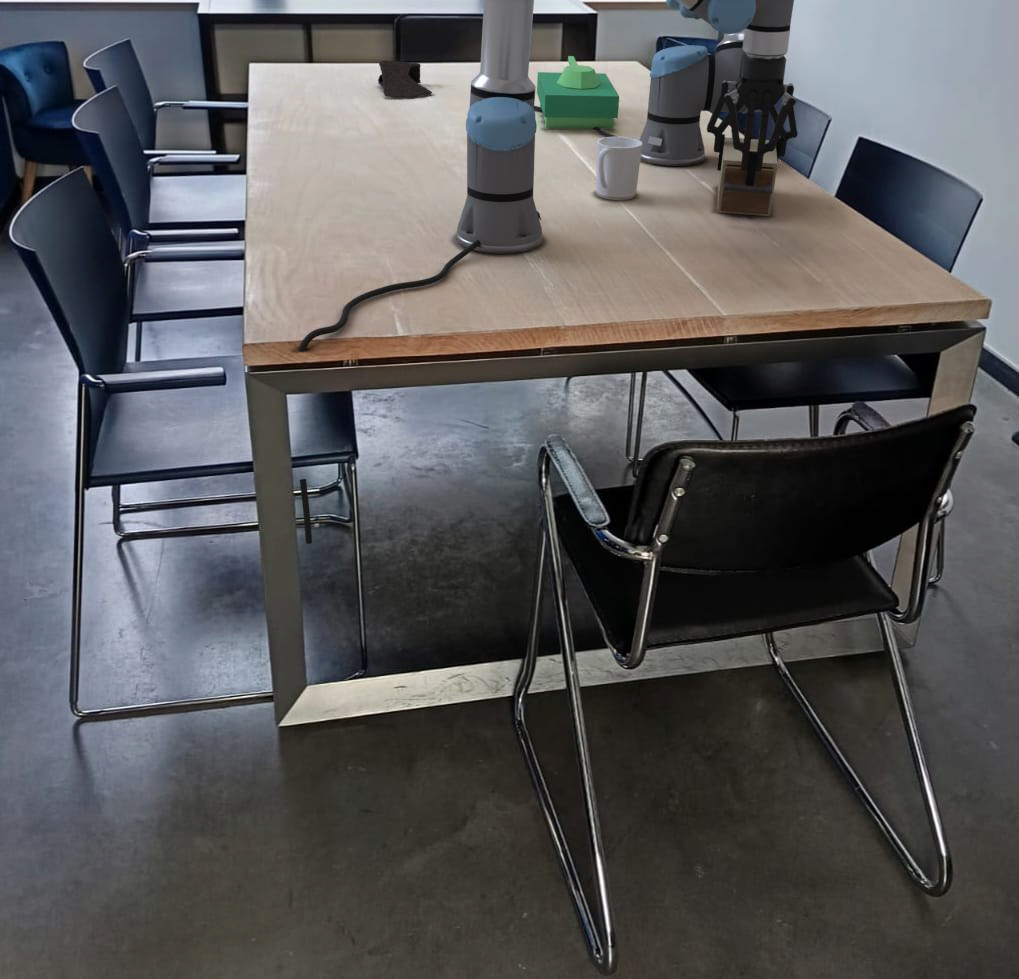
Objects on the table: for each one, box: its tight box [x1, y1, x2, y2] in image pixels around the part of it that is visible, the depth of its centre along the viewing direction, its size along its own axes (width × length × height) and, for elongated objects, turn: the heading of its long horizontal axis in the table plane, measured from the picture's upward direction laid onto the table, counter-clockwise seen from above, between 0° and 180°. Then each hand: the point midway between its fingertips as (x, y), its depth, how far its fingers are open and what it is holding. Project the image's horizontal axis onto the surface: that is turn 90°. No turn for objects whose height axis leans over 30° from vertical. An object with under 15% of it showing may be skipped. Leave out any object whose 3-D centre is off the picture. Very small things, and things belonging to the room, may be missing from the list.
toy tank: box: [536, 55, 620, 130], centre depth 276 cm, size 18×12×35 cm
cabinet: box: [716, 136, 779, 217], centre depth 216 cm, size 17×10×10 cm, turn 170°
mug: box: [595, 136, 642, 201], centre depth 218 cm, size 11×9×10 cm
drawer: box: [720, 165, 774, 214], centre depth 212 cm, size 21×9×8 cm, turn 170°
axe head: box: [377, 59, 433, 99], centre depth 299 cm, size 18×8×15 cm
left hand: (748, 188), depth 205 cm, fingers closed
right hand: (746, 170), depth 220 cm, fingers closed on cabinet, 10 cm apart
